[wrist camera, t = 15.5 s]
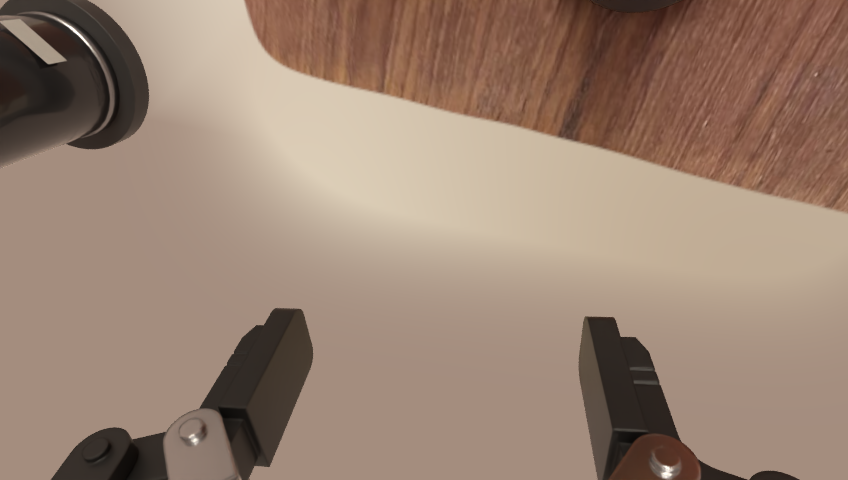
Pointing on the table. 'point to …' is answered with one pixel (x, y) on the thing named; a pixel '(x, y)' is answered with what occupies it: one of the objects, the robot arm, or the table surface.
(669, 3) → the swivel stand
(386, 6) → the table surface
